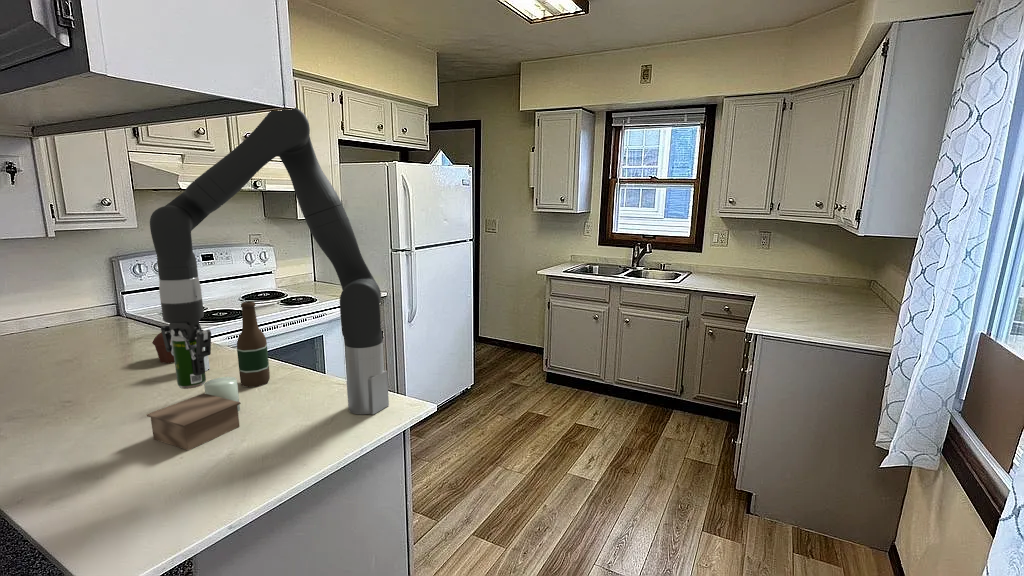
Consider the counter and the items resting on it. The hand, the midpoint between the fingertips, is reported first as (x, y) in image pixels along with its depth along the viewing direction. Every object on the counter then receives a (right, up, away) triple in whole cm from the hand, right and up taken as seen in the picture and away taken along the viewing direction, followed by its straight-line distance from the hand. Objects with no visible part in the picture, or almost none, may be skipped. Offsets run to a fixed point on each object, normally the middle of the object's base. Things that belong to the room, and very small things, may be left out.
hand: (190, 372), depth 109 cm
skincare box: (-26, -7, +42) cm, 50 cm away
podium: (0, -14, +3) cm, 15 cm away
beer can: (0, -3, +1) cm, 3 cm away
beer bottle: (-3, -9, +33) cm, 34 cm away
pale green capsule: (0, -12, +14) cm, 18 cm away
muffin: (-40, -5, +54) cm, 67 cm away
